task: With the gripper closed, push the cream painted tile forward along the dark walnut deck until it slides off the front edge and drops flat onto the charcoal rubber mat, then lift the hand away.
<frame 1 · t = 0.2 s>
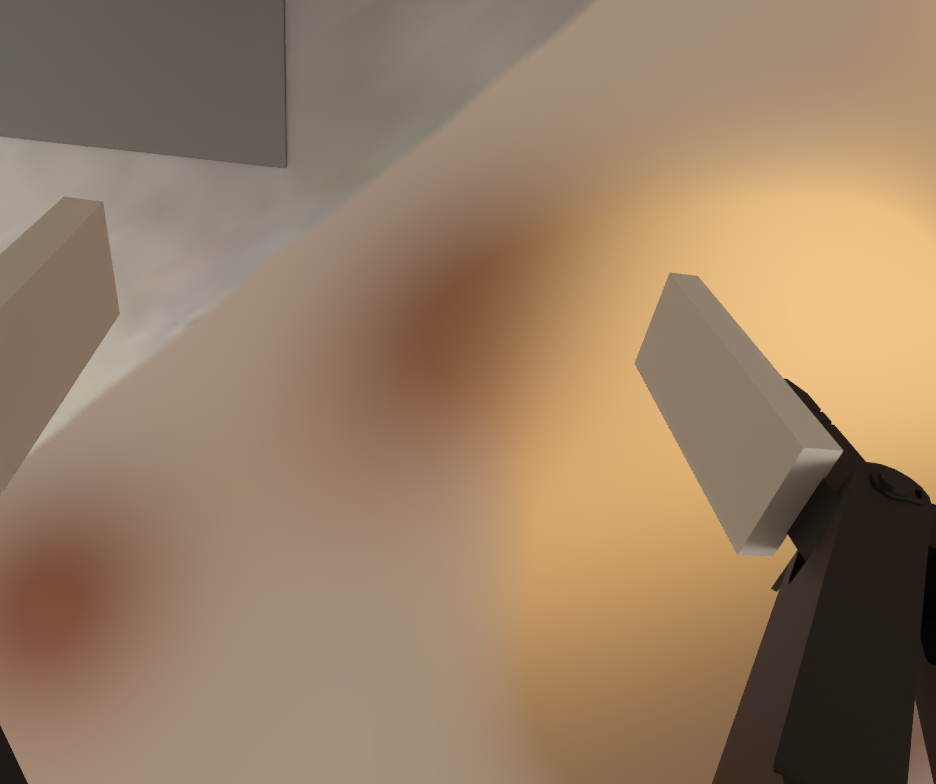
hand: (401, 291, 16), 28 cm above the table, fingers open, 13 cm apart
mat: (131, 18, 35), on the table
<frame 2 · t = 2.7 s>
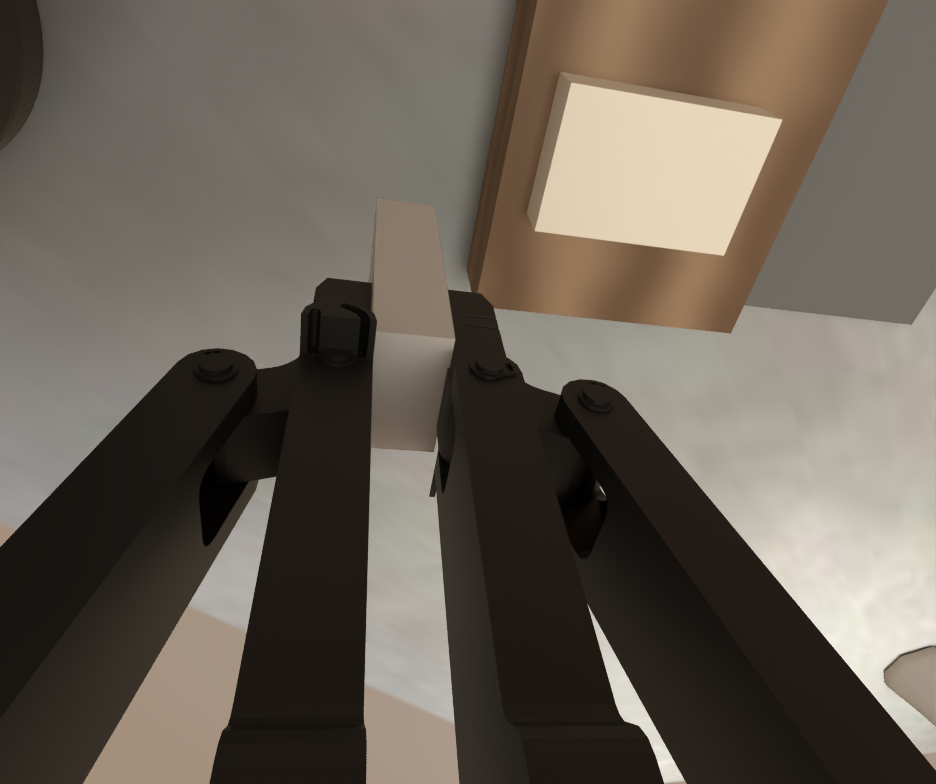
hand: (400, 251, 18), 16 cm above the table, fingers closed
flask: (916, 662, 68), on the table
mat: (878, 178, 35), on the table
tile: (639, 162, 29), point 4 cm above the table, touching deck
deck: (633, 139, 32), on the table
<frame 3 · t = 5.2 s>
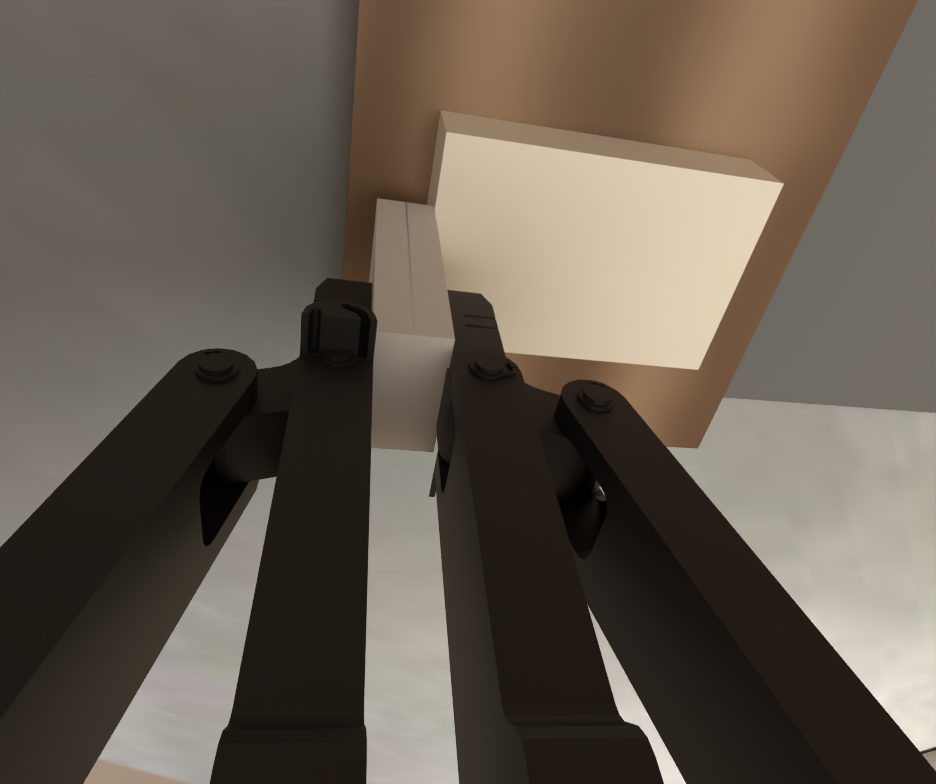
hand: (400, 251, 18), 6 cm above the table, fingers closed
flask: (933, 758, 59), on the table
mat: (898, 235, 26), on the table
tile: (573, 237, 20), point 4 cm above the table, touching deck, gripper
deck: (554, 190, 23), on the table
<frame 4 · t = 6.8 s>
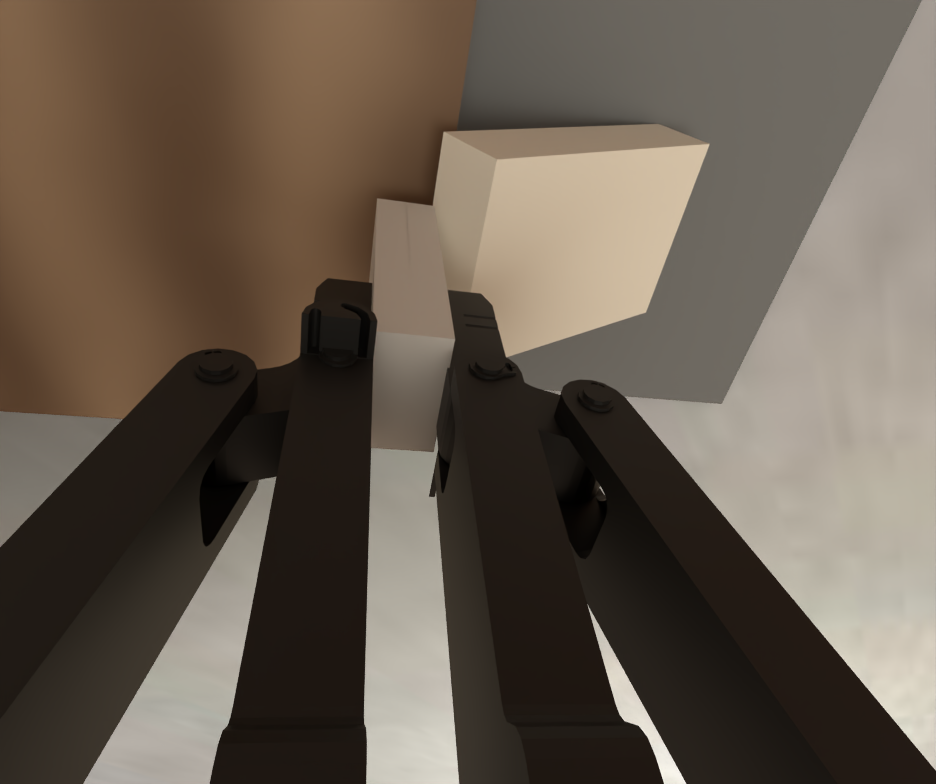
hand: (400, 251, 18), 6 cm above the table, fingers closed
mat: (626, 206, 24), on the table
tile: (541, 226, 21), point 3 cm above the table, tilted 34°, touching gripper
deck: (215, 150, 21), on the table
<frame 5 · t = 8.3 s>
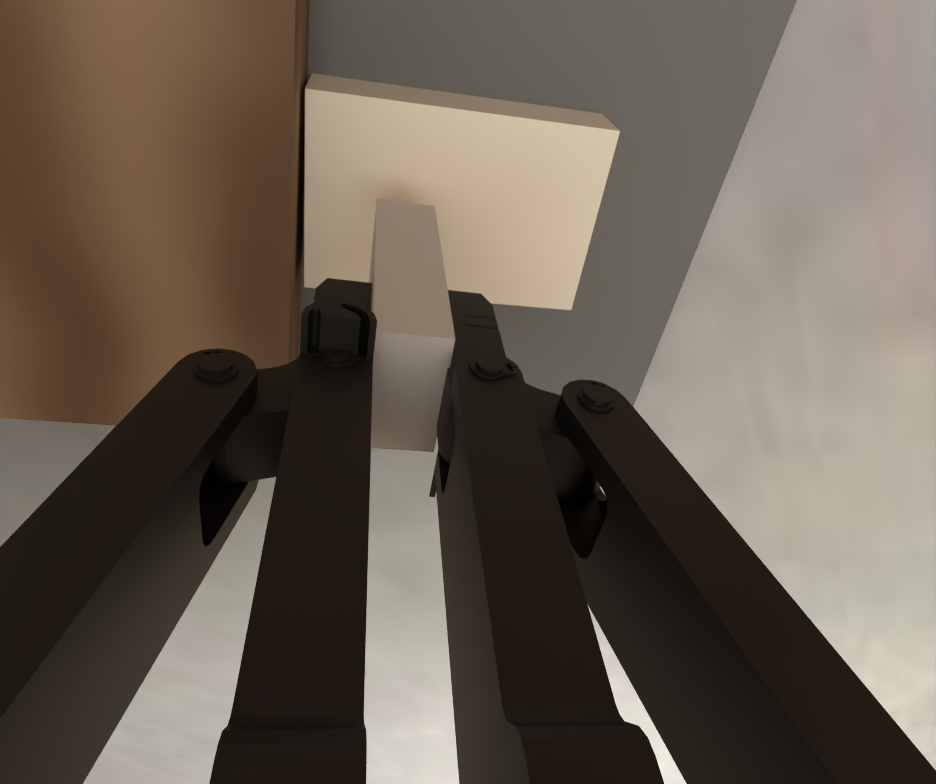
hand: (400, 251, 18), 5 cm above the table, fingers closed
mat: (513, 199, 23), on the table
tile: (449, 190, 22), resting on mat
deck: (71, 137, 20), on the table
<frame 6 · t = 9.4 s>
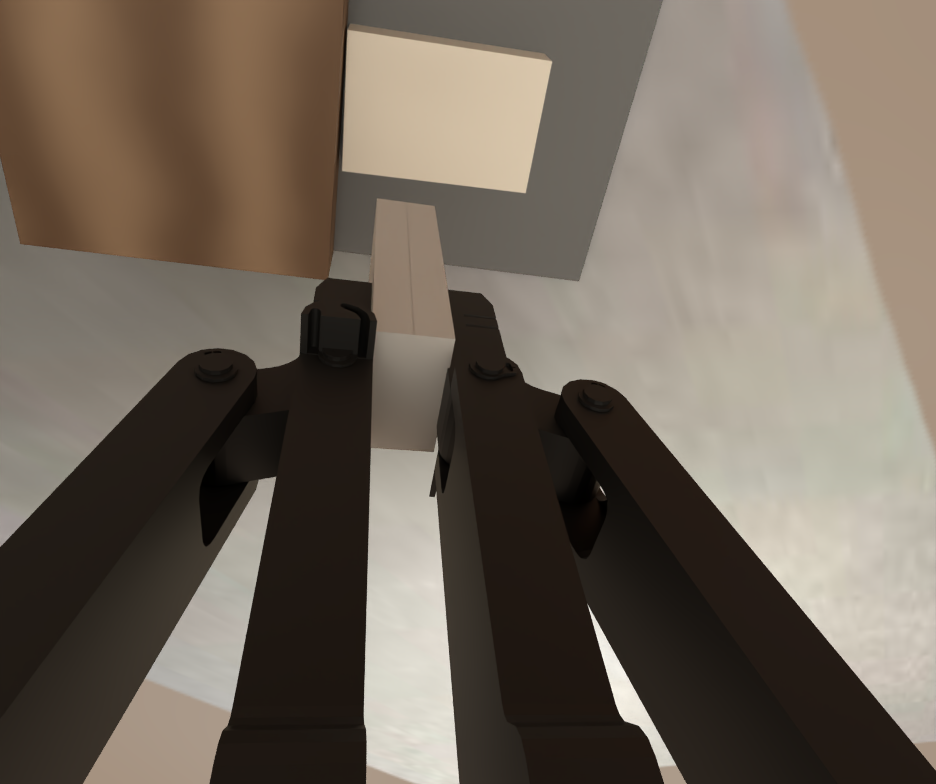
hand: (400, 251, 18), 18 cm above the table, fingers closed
mat: (486, 115, 33), on the table
tile: (441, 107, 32), resting on mat
deck: (189, 66, 30), on the table
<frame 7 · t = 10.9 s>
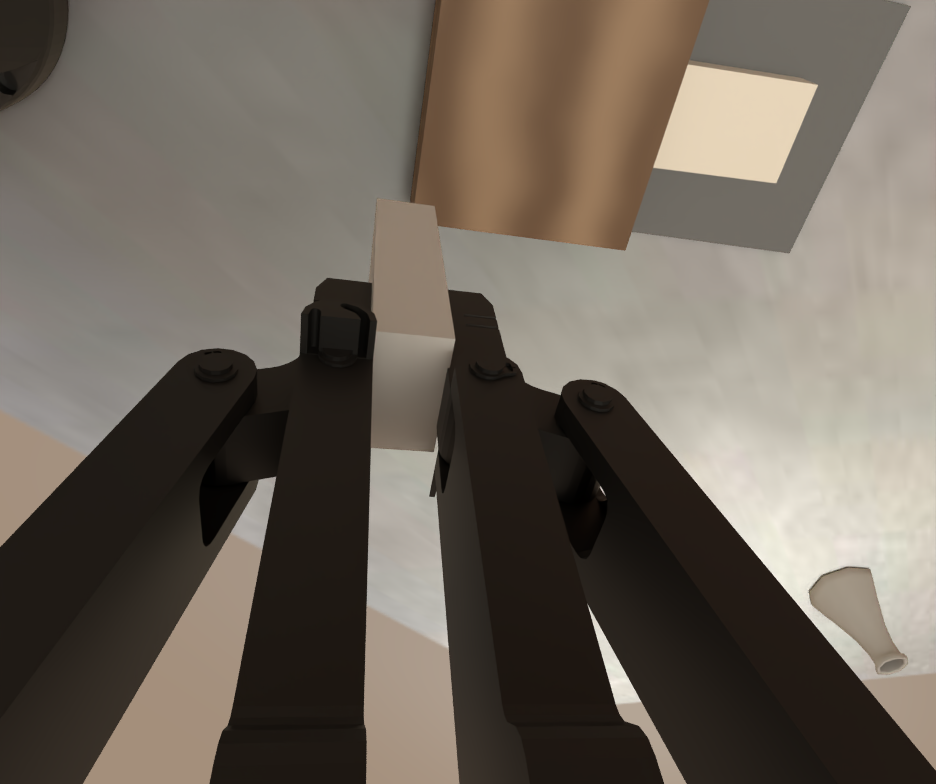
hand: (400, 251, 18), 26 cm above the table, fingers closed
flask: (838, 584, 75), on the table
mat: (746, 124, 43), on the table
tile: (717, 118, 42), resting on mat
deck: (540, 88, 40), on the table
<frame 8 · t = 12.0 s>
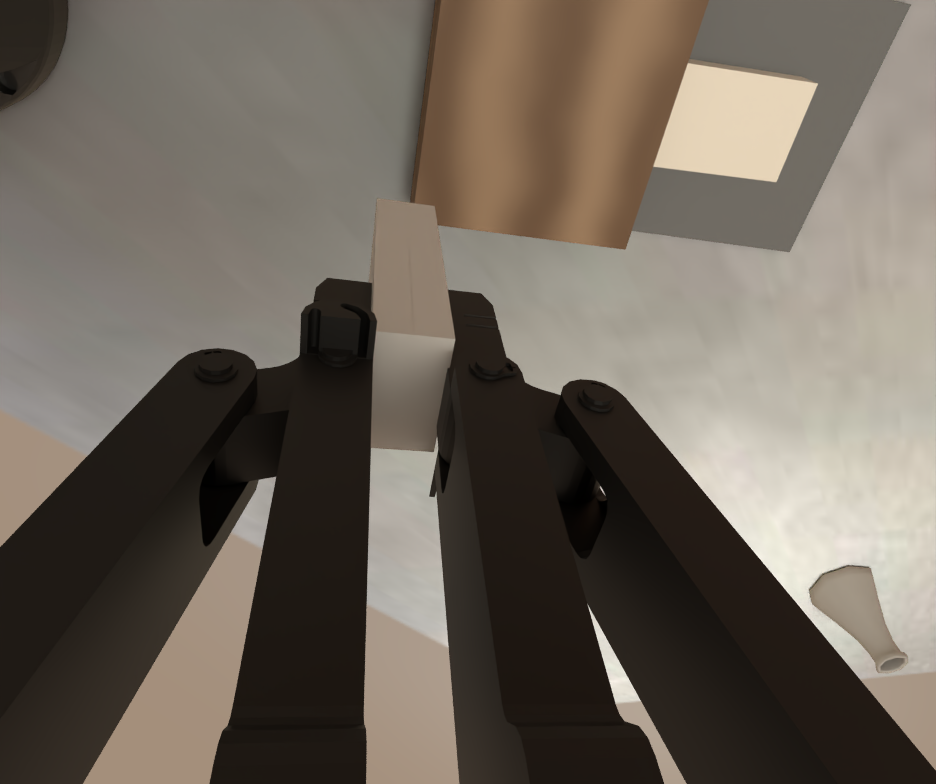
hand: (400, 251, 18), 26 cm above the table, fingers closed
flask: (838, 582, 75), on the table
mat: (746, 123, 43), on the table
tile: (717, 117, 42), resting on mat
deck: (540, 87, 40), on the table
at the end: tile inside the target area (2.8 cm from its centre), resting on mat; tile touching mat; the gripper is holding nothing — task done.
